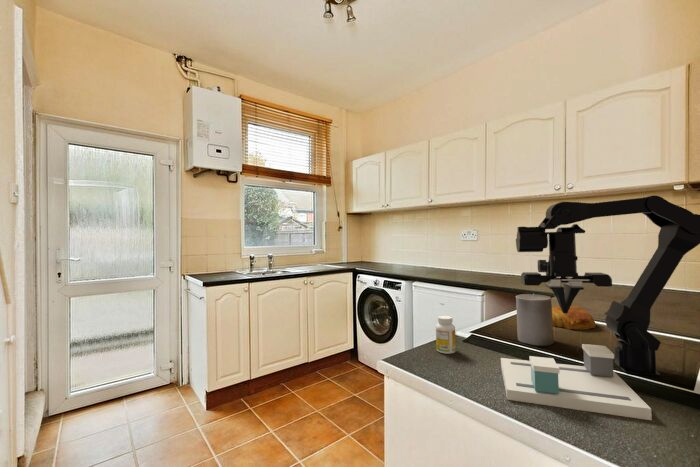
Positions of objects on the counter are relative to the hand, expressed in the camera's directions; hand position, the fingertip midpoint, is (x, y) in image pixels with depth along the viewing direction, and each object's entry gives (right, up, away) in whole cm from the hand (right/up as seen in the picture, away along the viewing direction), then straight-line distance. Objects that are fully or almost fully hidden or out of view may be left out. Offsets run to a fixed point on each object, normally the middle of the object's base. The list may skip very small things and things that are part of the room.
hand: (564, 313), depth 83 cm
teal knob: (-15, -11, -17) cm, 25 cm away
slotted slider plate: (-9, -13, -13) cm, 20 cm away
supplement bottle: (-27, -14, +11) cm, 32 cm away
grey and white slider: (+1, -11, -10) cm, 15 cm away
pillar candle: (+3, -13, +18) cm, 23 cm away
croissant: (+25, -13, +34) cm, 44 cm away
